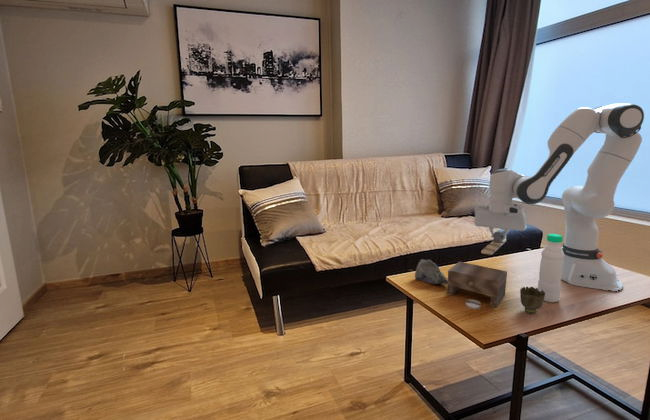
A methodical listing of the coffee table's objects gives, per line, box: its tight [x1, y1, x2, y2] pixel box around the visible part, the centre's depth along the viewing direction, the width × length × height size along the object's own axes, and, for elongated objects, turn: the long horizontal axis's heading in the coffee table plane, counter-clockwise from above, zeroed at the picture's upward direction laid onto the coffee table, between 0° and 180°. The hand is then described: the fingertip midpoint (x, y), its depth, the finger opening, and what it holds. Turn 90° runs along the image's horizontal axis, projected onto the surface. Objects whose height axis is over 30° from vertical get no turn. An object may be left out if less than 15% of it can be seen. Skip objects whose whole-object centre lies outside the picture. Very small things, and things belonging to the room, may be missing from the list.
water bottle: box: [537, 233, 564, 303], centre depth 127 cm, size 7×7×25 cm
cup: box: [519, 286, 545, 315], centre depth 120 cm, size 8×7×8 cm
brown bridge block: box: [446, 261, 508, 308], centre depth 133 cm, size 18×13×10 cm
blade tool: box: [480, 228, 507, 256], centre depth 145 cm, size 22×4×5 cm, turn 140°
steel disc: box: [465, 299, 482, 310], centre depth 126 cm, size 5×5×2 cm
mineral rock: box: [414, 258, 448, 285], centre depth 145 cm, size 13×11×10 cm
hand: (498, 238), depth 149 cm, fingers closed on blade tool, 2 cm apart
